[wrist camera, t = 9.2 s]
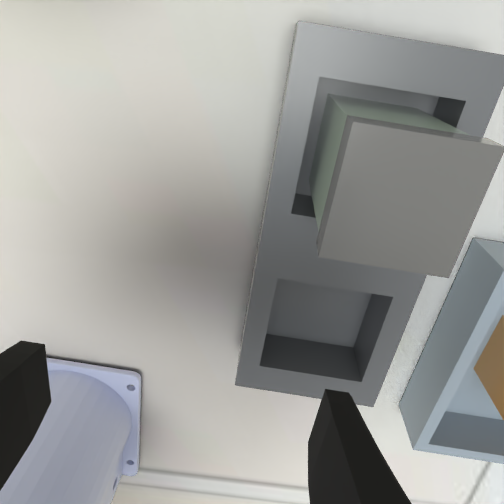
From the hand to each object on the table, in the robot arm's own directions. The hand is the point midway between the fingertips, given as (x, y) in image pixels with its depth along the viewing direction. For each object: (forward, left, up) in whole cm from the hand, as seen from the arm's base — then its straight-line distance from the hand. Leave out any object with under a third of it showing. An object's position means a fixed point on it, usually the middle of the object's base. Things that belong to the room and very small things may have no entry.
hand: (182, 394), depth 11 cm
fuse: (+5, -5, -10) cm, 12 cm away
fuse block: (+1, -5, -10) cm, 12 cm away
